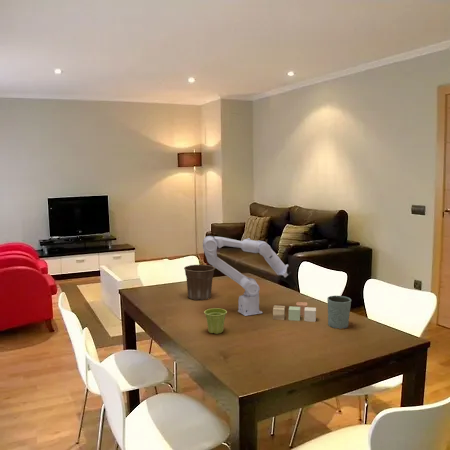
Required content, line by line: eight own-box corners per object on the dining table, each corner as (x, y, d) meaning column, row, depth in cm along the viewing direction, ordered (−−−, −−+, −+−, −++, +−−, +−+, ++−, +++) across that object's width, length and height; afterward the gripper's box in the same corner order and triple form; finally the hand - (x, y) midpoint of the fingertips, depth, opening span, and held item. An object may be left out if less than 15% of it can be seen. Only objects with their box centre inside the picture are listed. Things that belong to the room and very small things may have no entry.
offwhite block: (315, 321, 205) (315, 311, 205) (304, 321, 206) (304, 310, 206) (315, 318, 210) (315, 307, 209) (304, 317, 211) (304, 307, 210)
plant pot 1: (220, 295, 248) (220, 266, 246) (203, 303, 234) (203, 272, 232) (196, 291, 256) (196, 263, 254) (178, 298, 243) (177, 268, 241)
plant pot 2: (210, 337, 187) (210, 316, 186) (200, 329, 195) (200, 310, 194) (230, 333, 191) (230, 312, 190) (220, 326, 200) (220, 307, 199)
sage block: (299, 321, 207) (299, 310, 206) (288, 320, 208) (288, 309, 207) (300, 317, 211) (300, 306, 211) (289, 316, 212) (289, 306, 212)
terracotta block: (306, 316, 213) (307, 305, 213) (296, 315, 214) (296, 305, 214) (307, 312, 218) (307, 302, 218) (296, 312, 219) (296, 302, 219)
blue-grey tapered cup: (334, 320, 207) (335, 294, 206) (355, 325, 200) (355, 298, 199) (322, 325, 200) (322, 298, 199) (342, 331, 193) (343, 303, 192)
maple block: (284, 320, 208) (284, 309, 207) (272, 319, 209) (273, 308, 208) (284, 316, 213) (284, 306, 212) (274, 316, 214) (274, 305, 213)
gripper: (285, 260, 210) (303, 282, 212) (279, 254, 224) (296, 275, 226) (273, 270, 210) (291, 292, 212) (267, 263, 224) (284, 284, 226)
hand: (292, 284), depth 219 cm, fingers open, 7 cm apart
